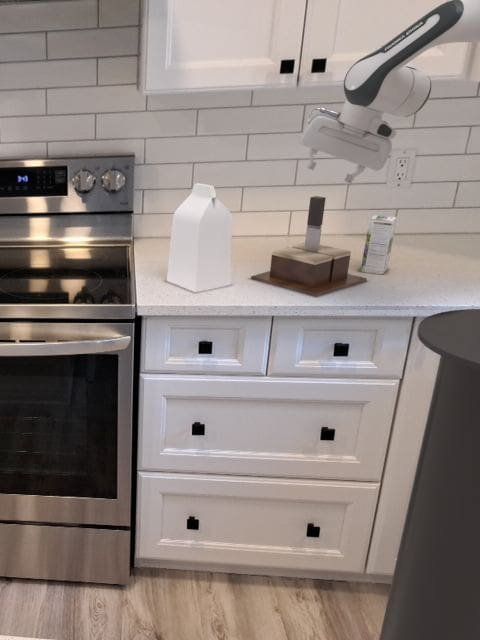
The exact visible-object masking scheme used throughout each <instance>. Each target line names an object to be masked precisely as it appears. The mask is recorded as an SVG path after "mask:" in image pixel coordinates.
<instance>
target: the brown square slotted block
mask: <svg viewBox="0 0 480 640" xmlns="http://www.w3.org/2000/svg"><path fill="white" fill-rule="evenodd" d="M304 247H305V242H303V243H299V244H295V245H291V246H287V247H283V248H279V249H275V250H272V252H271V260H270V268H269V271H265V272H261V273H257V274H254V275H251V276H250V279H251V280H253V281H257V282H260V283H264V284H267V285H272V286H275V287H279V288H281V289H286V290H289V291H293V292H297V293H299V294H304V295H306V296H307V295H308V296H311V297H316V298H317V297H321V296H324V295H327V294H331V293H333V292H338V291H341V290H344V289H347V288H351V287H353V286H357V285H360V284H363V283H367V278H366V277H363V276H358V275H356V274H355V275H354V274H350V273H349V269H350V268H349V267H350V260H351V254H352V250H347V249H342V248H337V247H333V246H328V245H323V244H319V252H318V253H314V252H310V251H305V250H304Z"/></svg>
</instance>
